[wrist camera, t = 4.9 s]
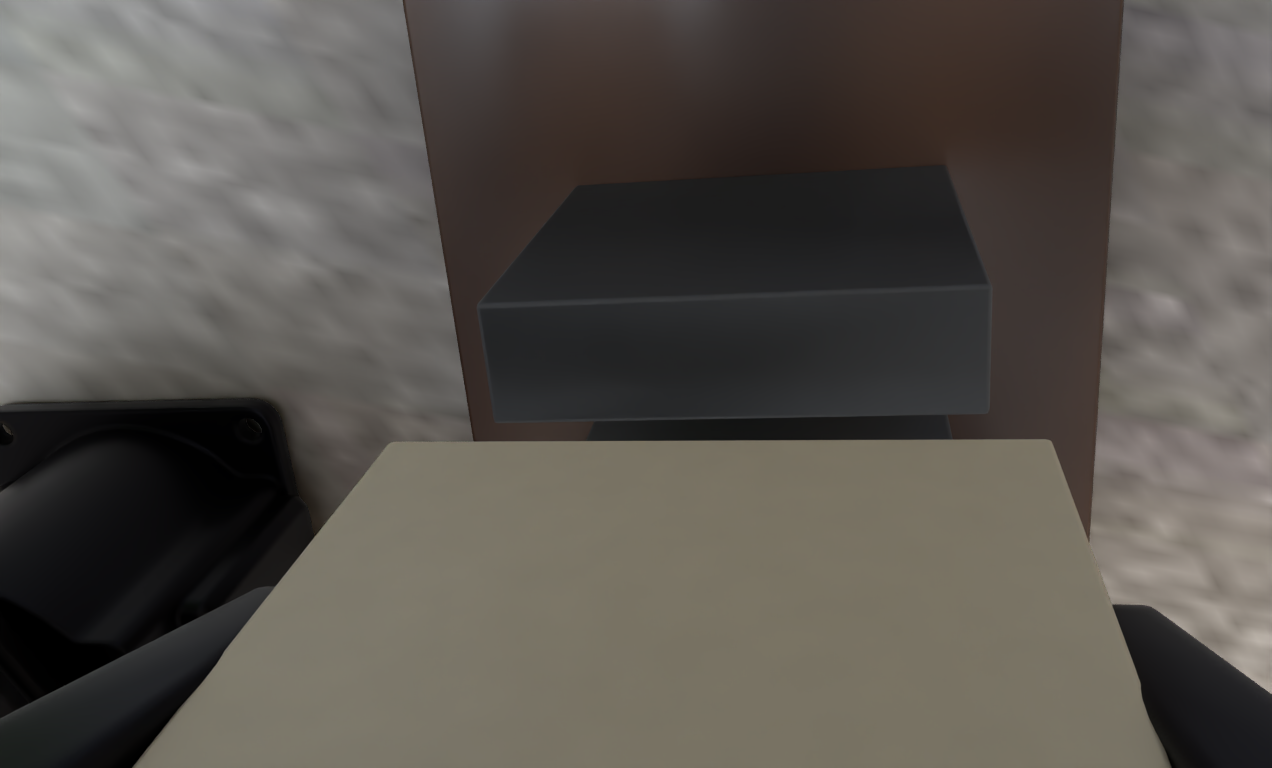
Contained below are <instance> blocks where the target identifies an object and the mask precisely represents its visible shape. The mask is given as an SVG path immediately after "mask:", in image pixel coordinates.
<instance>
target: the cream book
mask: <svg viewBox="0 0 1272 768" xmlns="http://www.w3.org/2000/svg"><path fill="white" fill-rule="evenodd" d="M132 768H1172V767H1171V764H1170V762H1169V759H1168V756H1167V754H1166V751H1165V749H1164V747H1163V745H1162V743H1161V741H1160V739H1159V737H1158V735H1157V733H1156V732H1155V730H1154V727H1153V725H1152V723H1151V721H1150V719H1149V717H1148V714H1147V711H1146V708H1145V705H1144V702H1143V700H1142V694H1141V683H1140V680H1139V678H1138V675H1137V672H1136V669H1135V666H1134V663H1133V661H1132V658H1131V655H1130V653H1129V650H1128V647H1127V644H1126V642H1125V639H1124V636H1123V634H1122V631H1121V628H1120V625H1119V623H1118V620H1117V617H1116V615H1115V612H1114V609H1113V606H1112V604H1111V601H1110V598H1109V596H1108V593H1107V590H1106V587H1105V585H1104V582H1103V579H1102V577H1101V574H1100V571H1099V568H1098V566H1097V563H1096V560H1095V558H1094V555H1093V552H1092V549H1091V547H1090V544H1089V541H1088V539H1087V536H1086V533H1085V530H1084V528H1083V525H1082V522H1081V520H1080V517H1079V514H1078V511H1077V509H1076V506H1075V503H1074V501H1073V498H1072V495H1071V492H1070V490H1069V487H1068V484H1067V482H1066V479H1065V476H1064V473H1063V471H1062V468H1061V465H1060V463H1059V460H1058V457H1057V454H1056V452H1055V449H1054V446H1053V444H1052V441H1050V440H1046V439H983V440H734V441H486V442H392V443H389V444H388V445H387V446H386V447H385V449H384V450H383V451H382V453H381V454H380V455H379V456H378V458H377V459H376V460H375V461H374V463H373V464H372V465H371V466H370V468H369V469H368V470H367V471H366V473H365V474H364V475H363V477H362V478H361V479H360V480H359V482H358V483H357V484H356V485H355V487H354V488H353V489H352V490H351V492H350V493H349V494H348V495H347V497H346V498H345V499H344V501H343V502H342V503H341V504H340V506H339V507H338V508H337V509H336V511H335V512H334V513H333V514H332V516H331V517H330V518H329V520H328V521H327V522H326V523H325V525H324V526H323V527H322V528H321V530H320V531H319V532H318V533H317V535H316V536H315V537H314V538H313V540H312V541H311V542H310V544H309V545H308V546H307V547H306V549H305V550H304V551H303V552H302V554H301V555H300V556H299V557H298V559H297V560H296V561H295V562H294V564H293V565H292V566H291V568H290V569H289V570H288V571H287V573H286V574H285V575H284V576H283V578H282V579H281V580H280V581H279V583H278V584H277V585H276V586H275V588H274V589H273V590H272V592H271V593H270V594H269V595H268V597H267V598H266V599H265V600H264V602H263V603H262V604H261V605H260V607H259V608H258V609H257V610H256V612H255V613H254V614H253V616H252V617H251V618H250V619H249V621H248V622H247V623H246V624H245V626H244V627H243V628H242V629H241V631H240V632H239V633H238V634H237V636H236V637H235V638H234V640H233V641H232V642H231V643H230V645H229V646H228V647H227V648H226V650H225V651H224V653H223V655H222V656H221V658H220V659H219V661H218V663H217V664H216V666H215V667H214V668H213V669H212V671H211V672H210V673H209V675H208V676H207V677H206V678H205V680H204V681H203V682H202V683H201V684H200V686H199V687H198V688H197V689H196V690H195V691H194V692H193V693H192V695H191V696H190V697H189V698H188V699H187V700H186V701H185V702H184V703H183V704H182V706H181V707H180V708H179V709H178V710H177V712H176V713H175V714H174V715H173V717H172V718H171V719H170V720H169V722H168V723H167V724H166V725H165V727H164V728H163V729H162V731H161V732H160V733H159V734H158V736H157V737H156V738H155V739H154V741H153V742H152V743H151V744H150V746H149V747H148V748H147V749H146V751H145V752H144V753H143V755H142V756H141V757H140V758H139V760H138V761H137V762H136V763H135V765H134V766H133V767H132Z"/></svg>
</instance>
